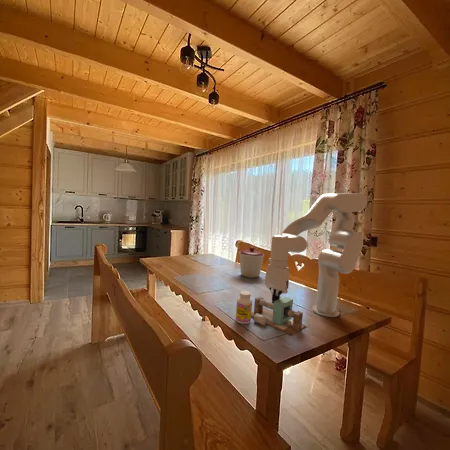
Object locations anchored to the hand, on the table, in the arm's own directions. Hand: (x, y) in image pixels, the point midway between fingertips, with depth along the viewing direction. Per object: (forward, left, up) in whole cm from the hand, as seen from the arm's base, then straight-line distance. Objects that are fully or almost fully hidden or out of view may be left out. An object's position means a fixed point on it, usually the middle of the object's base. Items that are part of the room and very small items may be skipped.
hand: (275, 303), depth 116 cm
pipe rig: (0, +1, -8) cm, 8 cm away
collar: (0, +4, -6) cm, 8 cm away
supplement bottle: (+12, -8, -8) cm, 17 cm away
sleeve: (+9, -2, -7) cm, 12 cm away
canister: (-46, -52, -8) cm, 70 cm away
